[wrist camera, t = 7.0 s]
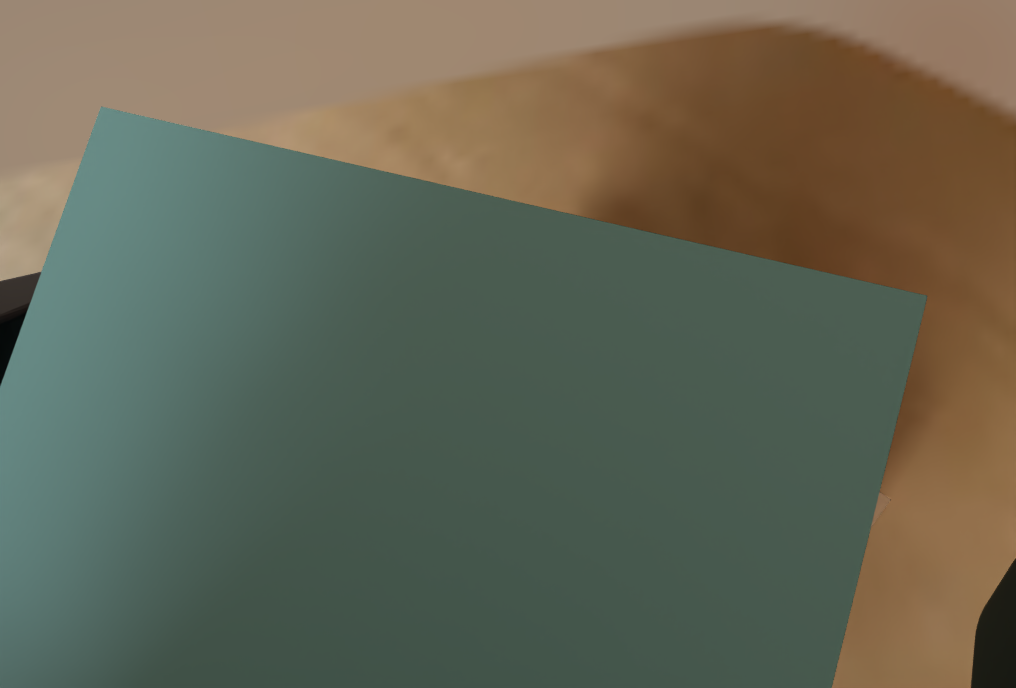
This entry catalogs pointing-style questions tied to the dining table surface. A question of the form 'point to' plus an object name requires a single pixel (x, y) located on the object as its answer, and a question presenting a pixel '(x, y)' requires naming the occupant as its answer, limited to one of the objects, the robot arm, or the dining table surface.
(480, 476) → the teal brick
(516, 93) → the dining table surface
